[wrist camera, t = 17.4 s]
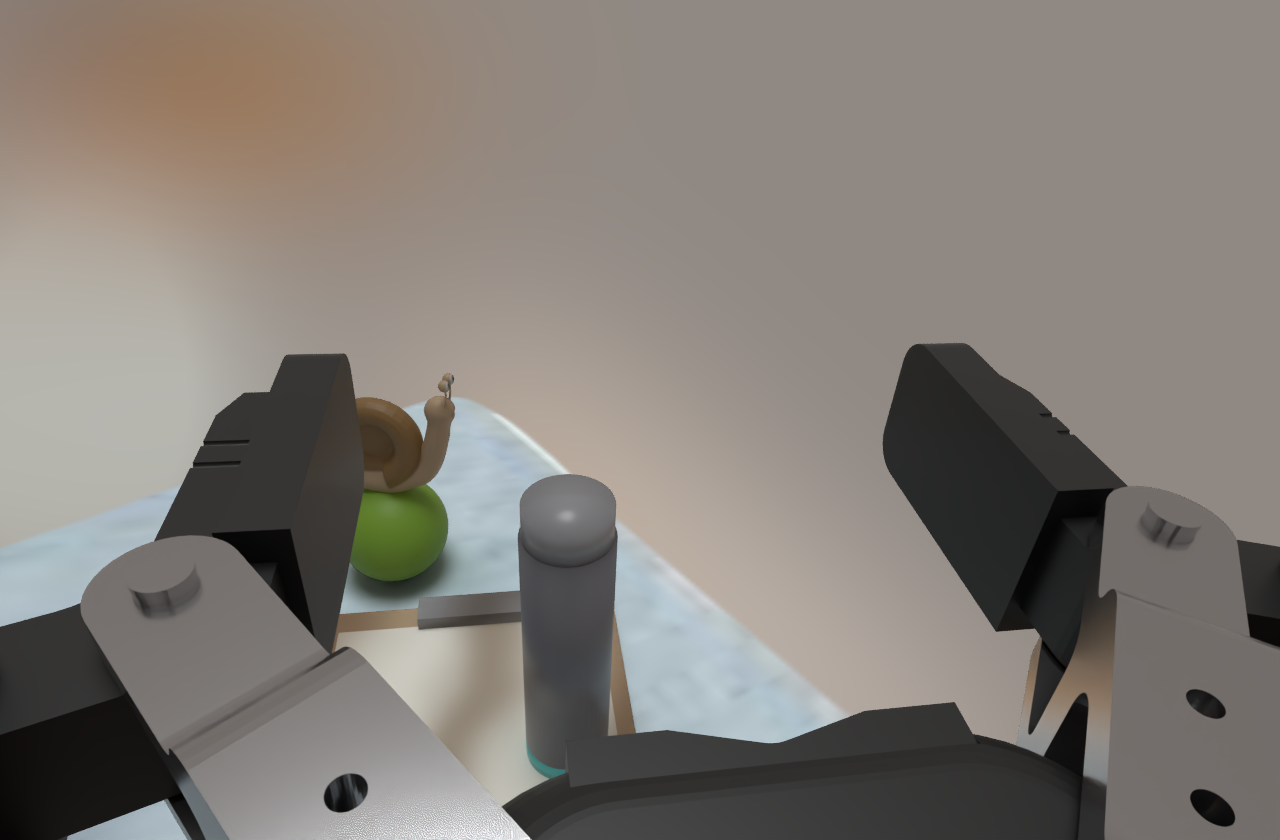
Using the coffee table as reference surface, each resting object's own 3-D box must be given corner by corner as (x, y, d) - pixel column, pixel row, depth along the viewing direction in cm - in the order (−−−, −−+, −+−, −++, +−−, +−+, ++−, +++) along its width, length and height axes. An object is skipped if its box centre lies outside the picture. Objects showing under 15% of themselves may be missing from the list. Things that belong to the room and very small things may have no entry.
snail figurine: (453, 611, 41) (433, 409, 35) (329, 597, 41) (286, 395, 35) (481, 540, 46) (467, 350, 39) (368, 528, 46) (337, 337, 39)
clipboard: (275, 866, 30) (268, 846, 29) (327, 622, 40) (323, 603, 39) (649, 821, 32) (651, 802, 32) (610, 600, 42) (611, 582, 42)
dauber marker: (528, 785, 33) (518, 540, 26) (524, 714, 35) (515, 475, 28) (612, 776, 33) (625, 533, 26) (602, 707, 36) (612, 469, 29)
